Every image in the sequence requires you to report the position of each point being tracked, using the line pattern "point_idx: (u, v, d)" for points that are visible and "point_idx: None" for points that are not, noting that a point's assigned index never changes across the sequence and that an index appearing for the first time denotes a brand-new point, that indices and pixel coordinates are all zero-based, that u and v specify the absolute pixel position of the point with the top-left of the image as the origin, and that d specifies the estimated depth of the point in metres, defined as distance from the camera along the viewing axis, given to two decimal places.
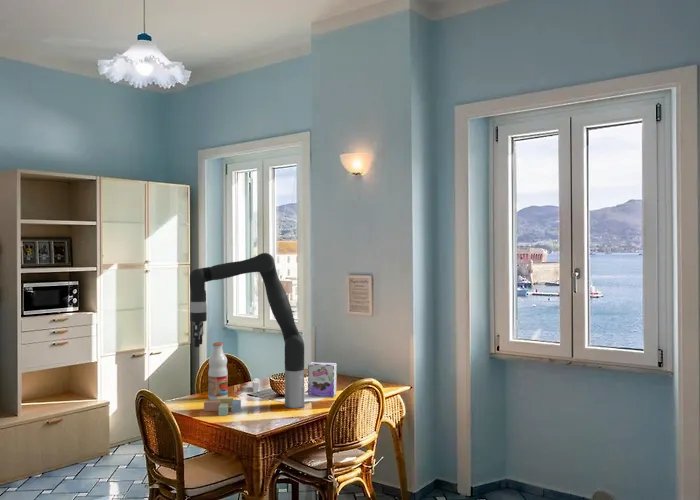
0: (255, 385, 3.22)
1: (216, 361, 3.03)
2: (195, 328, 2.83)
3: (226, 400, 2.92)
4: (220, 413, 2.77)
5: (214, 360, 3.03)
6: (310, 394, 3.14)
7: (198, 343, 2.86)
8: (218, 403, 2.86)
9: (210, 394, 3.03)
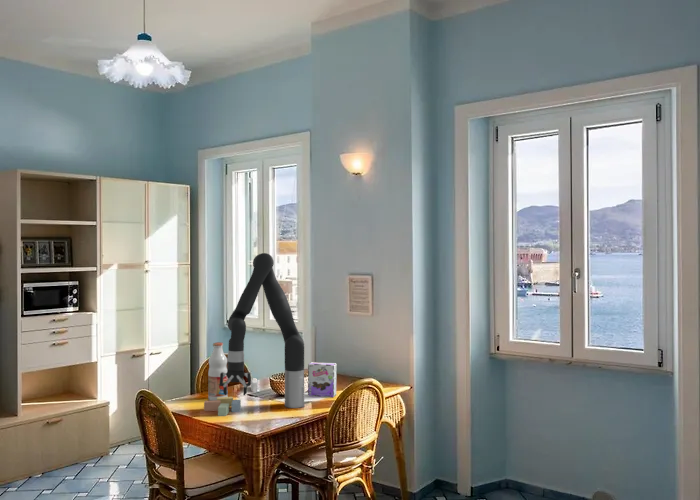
0: (254, 384, 3.23)
1: (216, 361, 3.03)
2: (250, 375, 2.87)
3: (226, 400, 2.93)
4: (219, 413, 2.77)
5: (214, 360, 3.03)
6: (310, 394, 3.14)
7: None
8: (218, 403, 2.86)
9: (210, 394, 3.03)
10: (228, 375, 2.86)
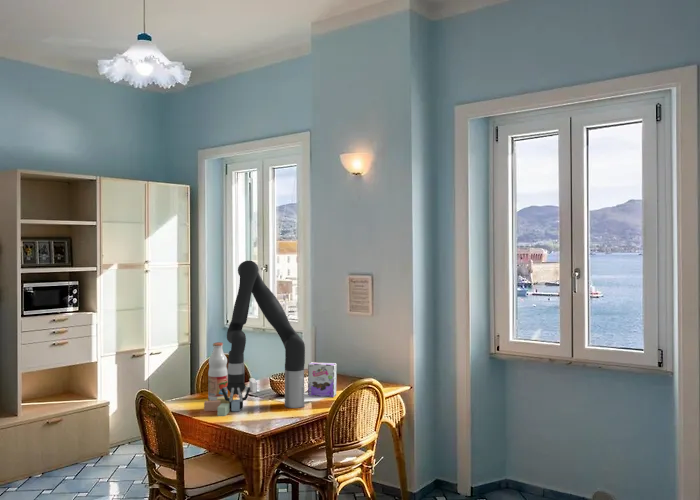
0: (254, 384, 3.23)
1: (216, 361, 3.03)
2: (249, 391, 2.87)
3: None
4: (219, 413, 2.77)
5: (214, 360, 3.03)
6: (310, 394, 3.14)
7: None
8: (218, 403, 2.86)
9: (210, 394, 3.03)
10: (229, 389, 2.86)
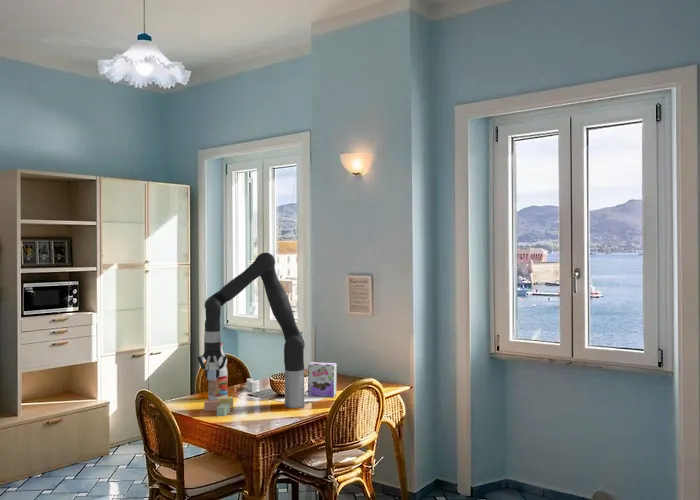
0: (253, 384, 3.23)
1: None
2: (225, 359, 2.87)
3: (226, 400, 2.93)
4: (218, 413, 2.77)
5: None
6: (310, 394, 3.14)
7: None
8: (218, 403, 2.86)
9: (210, 394, 3.03)
10: (205, 357, 2.86)
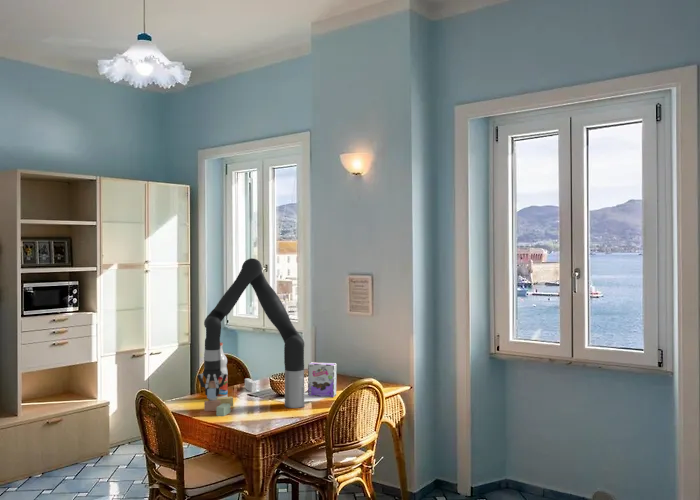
0: (253, 384, 3.23)
1: None
2: (225, 377, 2.87)
3: (226, 400, 2.93)
4: (218, 413, 2.77)
5: None
6: (310, 394, 3.14)
7: None
8: (218, 403, 2.86)
9: None
10: (205, 376, 2.86)
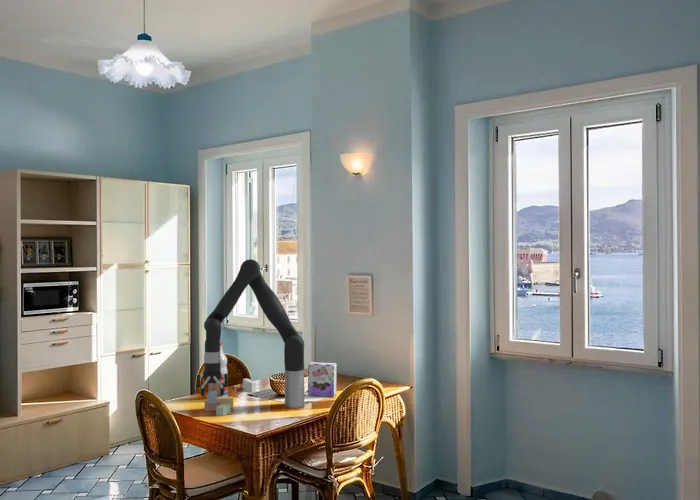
0: (253, 384, 3.23)
1: None
2: (227, 376, 2.87)
3: (226, 400, 2.93)
4: (217, 413, 2.77)
5: None
6: (310, 394, 3.14)
7: None
8: (219, 403, 2.86)
9: None
10: (205, 376, 2.86)
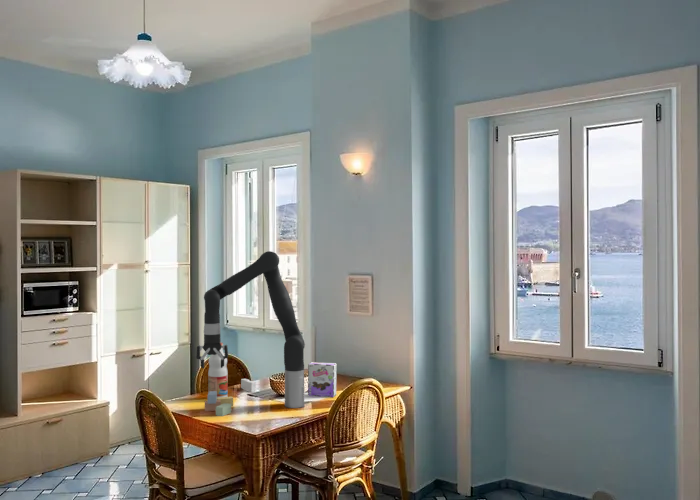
0: (252, 384, 3.23)
1: (216, 361, 3.03)
2: (227, 348, 2.87)
3: (226, 400, 2.93)
4: (217, 413, 2.77)
5: (214, 360, 3.03)
6: (310, 394, 3.14)
7: None
8: (219, 403, 2.86)
9: None
10: (205, 348, 2.86)
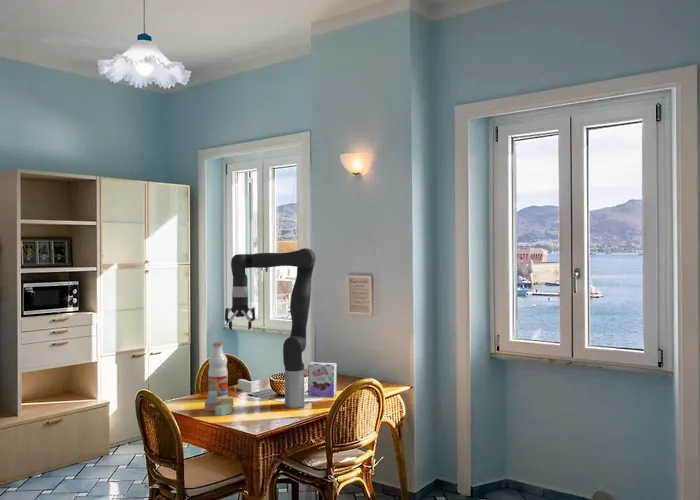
0: (252, 384, 3.23)
1: (216, 361, 3.03)
2: (254, 310, 2.96)
3: (226, 400, 2.93)
4: (216, 412, 2.77)
5: (214, 360, 3.03)
6: (310, 394, 3.14)
7: None
8: (219, 402, 2.87)
9: None
10: (233, 310, 2.95)
